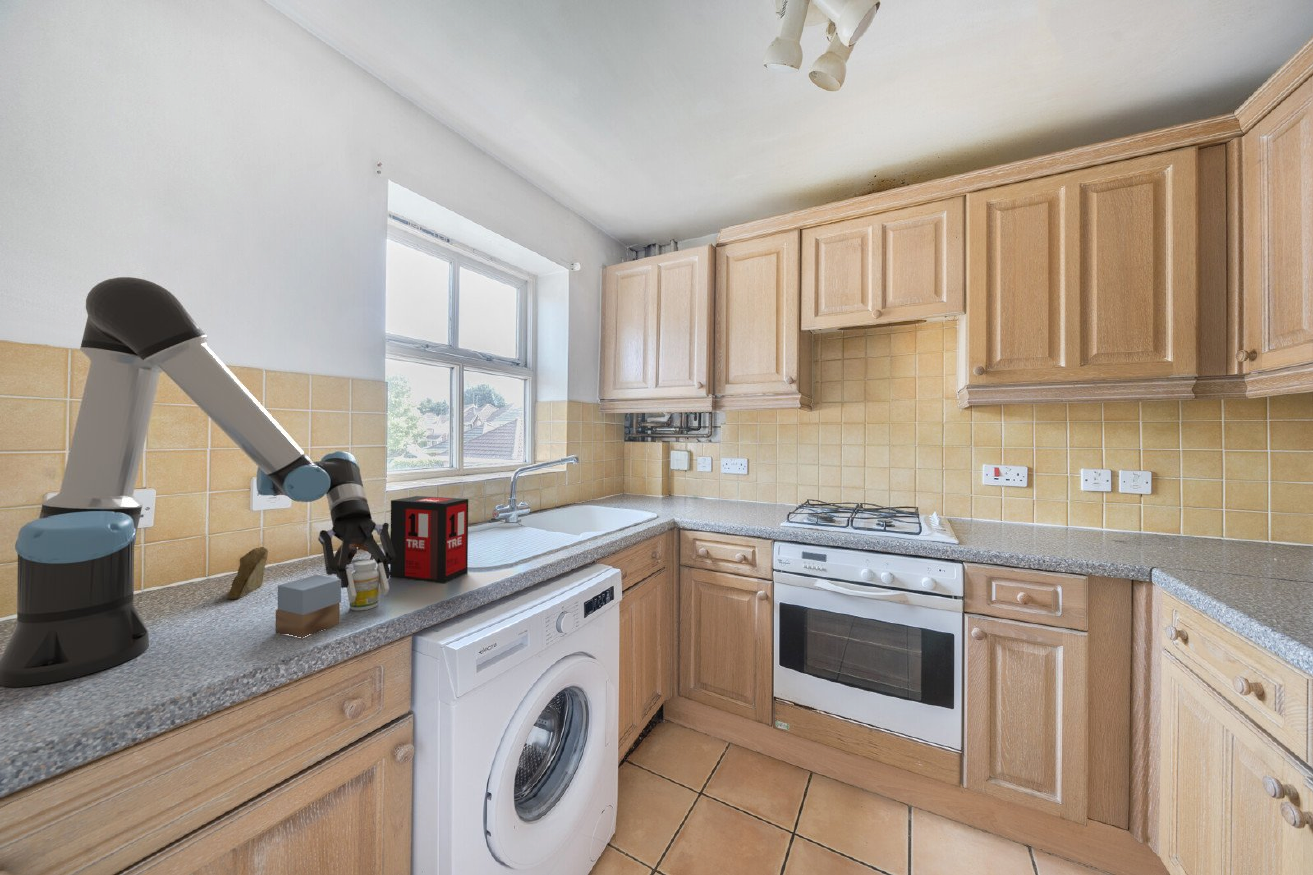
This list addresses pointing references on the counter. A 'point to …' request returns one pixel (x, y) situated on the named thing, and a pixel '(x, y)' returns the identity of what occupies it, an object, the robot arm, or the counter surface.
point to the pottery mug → (350, 552)
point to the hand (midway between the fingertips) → (369, 595)
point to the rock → (249, 573)
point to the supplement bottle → (365, 585)
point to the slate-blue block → (309, 594)
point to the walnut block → (307, 621)
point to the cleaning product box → (429, 538)
